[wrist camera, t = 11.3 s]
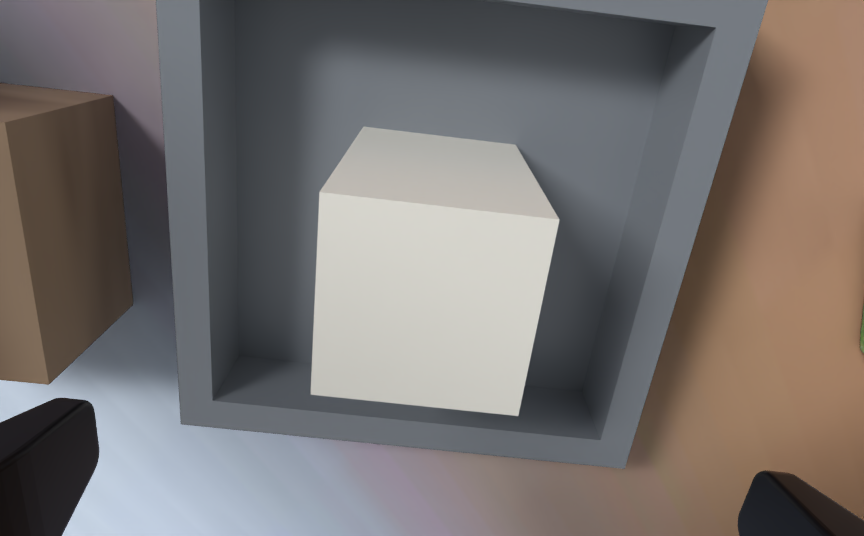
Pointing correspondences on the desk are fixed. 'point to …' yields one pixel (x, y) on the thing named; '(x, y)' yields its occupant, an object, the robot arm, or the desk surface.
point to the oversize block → (58, 229)
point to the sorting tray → (453, 117)
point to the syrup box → (862, 333)
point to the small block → (429, 272)
